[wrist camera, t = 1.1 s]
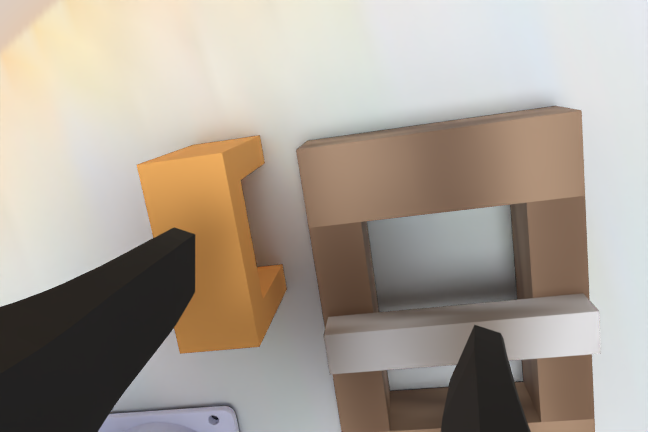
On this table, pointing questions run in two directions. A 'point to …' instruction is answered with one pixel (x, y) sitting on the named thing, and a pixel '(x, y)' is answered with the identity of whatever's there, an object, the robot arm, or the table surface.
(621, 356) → the table surface
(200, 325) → the orange upright block
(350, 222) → the shelf
